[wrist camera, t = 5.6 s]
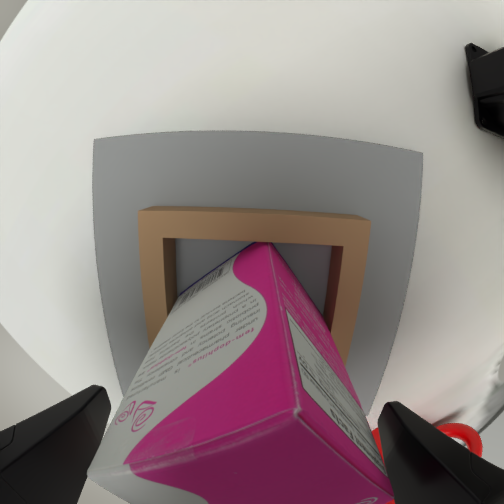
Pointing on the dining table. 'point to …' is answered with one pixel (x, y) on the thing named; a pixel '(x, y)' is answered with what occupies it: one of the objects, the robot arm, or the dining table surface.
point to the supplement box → (242, 401)
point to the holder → (256, 231)
